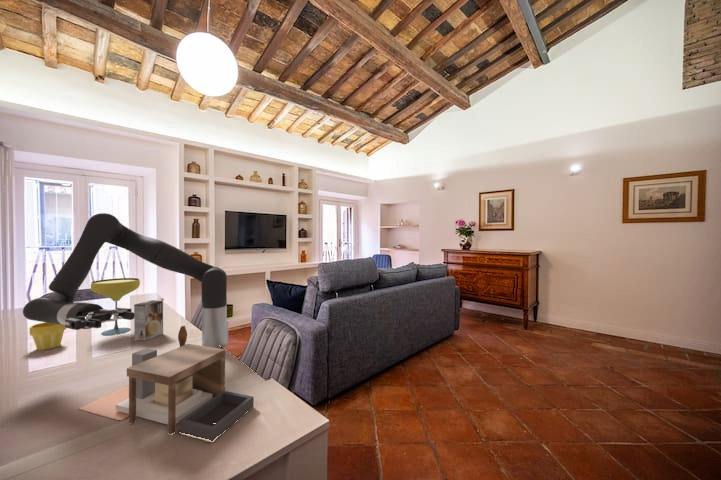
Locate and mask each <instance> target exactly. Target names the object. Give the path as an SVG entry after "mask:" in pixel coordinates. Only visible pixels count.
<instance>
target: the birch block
mask: <svg viewBox="0 0 721 480" xmlns="http://www.w3.org/2000/svg"><path fill="white" fill-rule="evenodd" d="M190 396H192V375H189V376H187V377H185V378H183V379H181V380H179V381H177V382H176V405H177V404H179V403H180V402H182V401H183V400H185V399H187V398H188V397H190ZM155 404H158V405H162V406H166V407H168V385H164V384H160V383H155Z"/></svg>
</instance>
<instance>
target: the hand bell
mask: <svg viewBox="0 0 721 480" xmlns="http://www.w3.org/2000/svg"><path fill="white" fill-rule="evenodd" d="M187 338H188V331H187V329H186V326H185V325H181V326H180V329H179V331H178V334H177V339H178V343H179V347H181V346H184V345H186V342H187Z"/></svg>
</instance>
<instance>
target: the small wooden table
mask: <svg viewBox="0 0 721 480" xmlns="http://www.w3.org/2000/svg"><path fill="white" fill-rule="evenodd" d="M189 375H192V389H196V390H201V391H202V392H207V393H211V394H213V398H214V397H215V396H217V395H218V394H219V393H221V392H222V391H226V349H223V348H221V349H219V348H212V347H206V346H202V345H199V344H191V343H187V344H186V343H185V345H184V346H181V347H180V346H179V347H177V348H174V349H171V350H169V351H166V352H163V353H162V354H159V355H157V356H156V357H154V358H151V359H149V360H146V361H144V362H141V363H139V364H136V365H134V366H132V365H131V366H130V367H129V366H128V367H127V368H126V377H128V386H129V417H128V424H129V423H133V424H135V423H136V422H137V416H136V378H137V379H141V380H146V381H150V382H155V383H160V384H164V385H168V424H167V429H168V431H167V433H169V434H172V433H174V432H175V433H176V424H175V411H176V382H177V381H179V380H181V379H183V378H185V377H187V376H189ZM135 421H136V422H135ZM134 422H135V423H134Z"/></svg>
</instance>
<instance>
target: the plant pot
mask: <svg viewBox="0 0 721 480" xmlns="http://www.w3.org/2000/svg"><path fill="white" fill-rule="evenodd" d="M66 330H67V328H65V325H60V324H56V323H47V322H39V323H35V324H32V325H31V326H29V336H32V339H33V341H34V344H35V347H36V350H38V351H44V350H50V349H54V348H57V347H60V346H61V344H62V341H63V337H64V332H65V331H66Z"/></svg>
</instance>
